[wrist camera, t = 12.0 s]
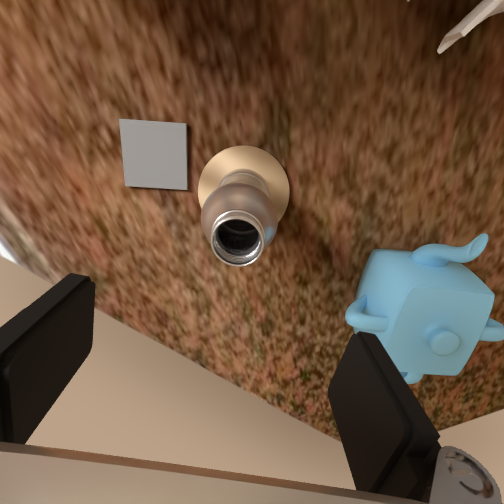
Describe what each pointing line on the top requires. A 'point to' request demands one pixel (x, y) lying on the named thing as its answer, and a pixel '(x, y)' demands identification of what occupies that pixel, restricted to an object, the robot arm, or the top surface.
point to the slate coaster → (154, 154)
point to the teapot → (425, 307)
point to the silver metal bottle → (239, 218)
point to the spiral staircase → (471, 21)
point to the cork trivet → (253, 161)
